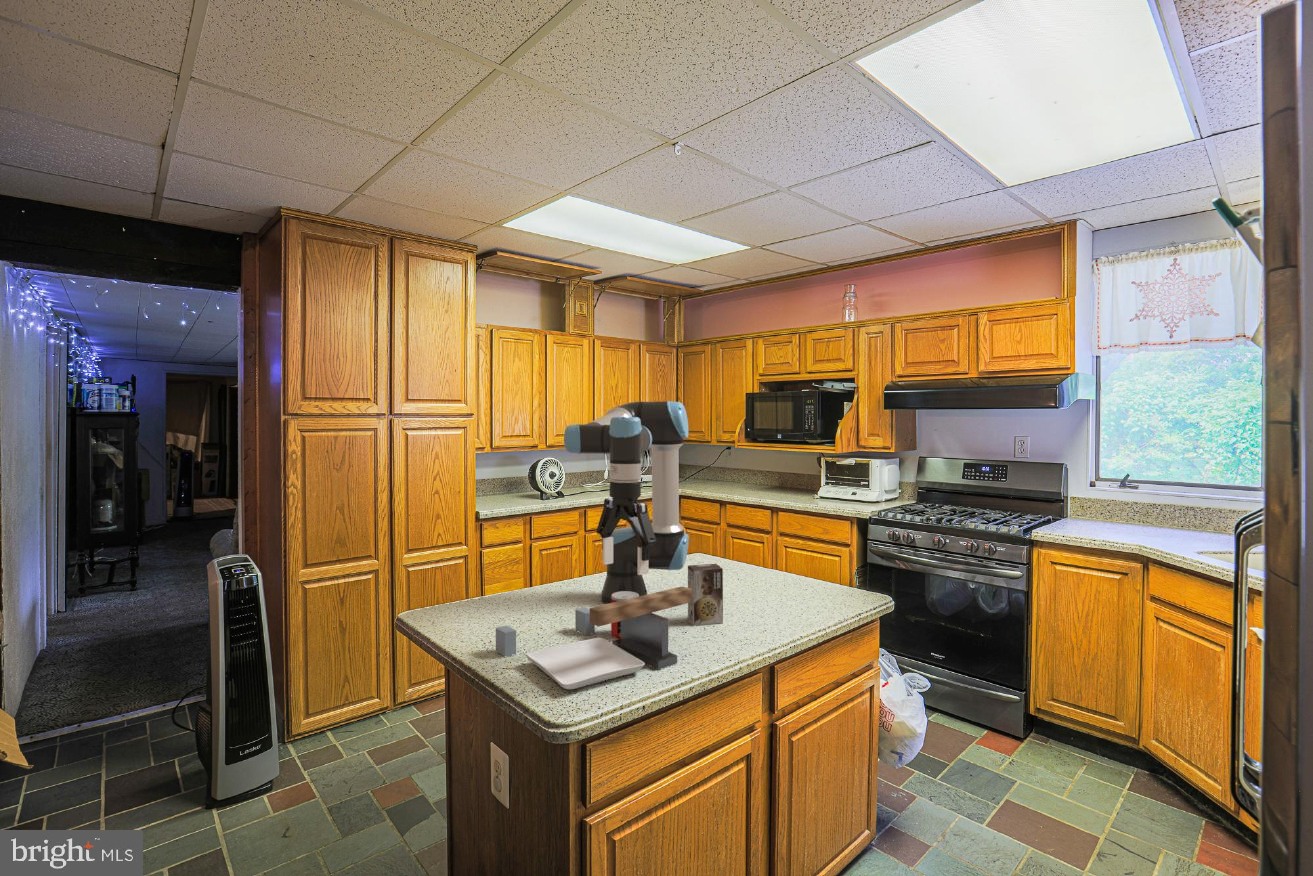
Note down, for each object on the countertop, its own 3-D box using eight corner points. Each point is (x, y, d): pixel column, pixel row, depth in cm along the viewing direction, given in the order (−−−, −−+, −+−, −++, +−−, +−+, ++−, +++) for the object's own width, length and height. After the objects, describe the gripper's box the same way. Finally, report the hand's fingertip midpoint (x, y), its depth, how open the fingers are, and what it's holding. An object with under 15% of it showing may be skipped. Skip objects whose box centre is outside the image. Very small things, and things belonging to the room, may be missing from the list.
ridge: (630, 643, 163) (630, 601, 163) (677, 663, 149) (677, 618, 149) (612, 648, 159) (612, 606, 159) (658, 670, 145) (658, 623, 145)
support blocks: (584, 628, 174) (584, 607, 174) (594, 633, 171) (594, 611, 171) (495, 651, 157) (495, 627, 157) (505, 657, 153) (505, 633, 153)
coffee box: (716, 616, 186) (716, 563, 185) (723, 623, 179) (723, 568, 179) (686, 619, 183) (687, 564, 183) (693, 626, 177) (693, 569, 177)
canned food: (618, 641, 164) (618, 600, 164) (606, 632, 171) (606, 593, 171) (644, 637, 168) (644, 596, 167) (631, 628, 175) (631, 589, 174)
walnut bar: (682, 599, 165) (682, 586, 165) (691, 602, 162) (691, 589, 162) (589, 622, 145) (589, 608, 145) (598, 626, 143) (598, 611, 143)
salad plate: (647, 676, 143) (647, 661, 143) (564, 699, 130) (564, 683, 130) (600, 648, 160) (600, 635, 160) (523, 667, 148) (523, 652, 148)
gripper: (582, 478, 156) (582, 561, 157) (646, 486, 137) (646, 581, 138) (606, 476, 161) (606, 557, 162) (671, 484, 142) (671, 576, 143)
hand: (624, 568), depth 150 cm, fingers open, 13 cm apart
